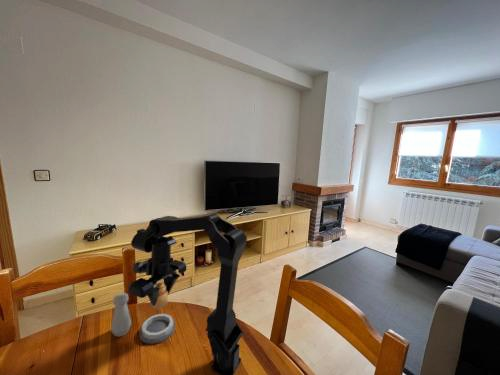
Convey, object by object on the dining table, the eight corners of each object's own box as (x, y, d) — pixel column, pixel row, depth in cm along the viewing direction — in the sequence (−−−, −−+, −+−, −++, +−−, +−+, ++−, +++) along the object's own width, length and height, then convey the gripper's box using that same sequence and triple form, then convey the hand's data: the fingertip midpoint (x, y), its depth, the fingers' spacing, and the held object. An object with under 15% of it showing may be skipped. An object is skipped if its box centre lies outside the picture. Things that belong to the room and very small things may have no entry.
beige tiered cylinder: (170, 302, 72) (171, 283, 71) (159, 310, 67) (159, 290, 66) (160, 297, 73) (160, 279, 73) (148, 305, 69) (148, 286, 68)
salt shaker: (135, 326, 73) (135, 291, 72) (123, 340, 68) (123, 302, 66) (119, 324, 74) (118, 289, 73) (106, 337, 68) (105, 299, 67)
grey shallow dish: (181, 325, 75) (182, 319, 75) (156, 349, 65) (156, 342, 65) (158, 315, 79) (159, 308, 79) (132, 335, 69) (131, 328, 69)
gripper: (164, 241, 80) (163, 280, 82) (116, 260, 63) (116, 309, 65) (188, 248, 76) (186, 289, 77) (142, 270, 59) (141, 322, 60)
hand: (159, 300), depth 70 cm, fingers closed on beige tiered cylinder, 5 cm apart
